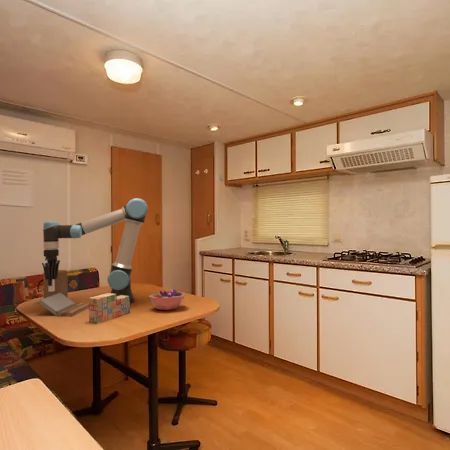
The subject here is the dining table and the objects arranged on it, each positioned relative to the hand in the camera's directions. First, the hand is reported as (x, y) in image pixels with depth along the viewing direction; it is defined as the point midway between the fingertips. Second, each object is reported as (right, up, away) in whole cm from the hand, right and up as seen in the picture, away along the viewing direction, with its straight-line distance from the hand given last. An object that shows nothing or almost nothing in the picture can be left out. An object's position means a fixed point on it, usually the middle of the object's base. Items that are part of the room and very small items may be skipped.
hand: (51, 291), depth 184 cm
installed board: (+14, -11, -1) cm, 18 cm away
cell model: (+65, -11, +1) cm, 66 cm away
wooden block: (-8, -12, +20) cm, 24 cm away
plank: (+3, -8, 0) cm, 8 cm away
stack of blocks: (+38, -11, -13) cm, 41 cm away
